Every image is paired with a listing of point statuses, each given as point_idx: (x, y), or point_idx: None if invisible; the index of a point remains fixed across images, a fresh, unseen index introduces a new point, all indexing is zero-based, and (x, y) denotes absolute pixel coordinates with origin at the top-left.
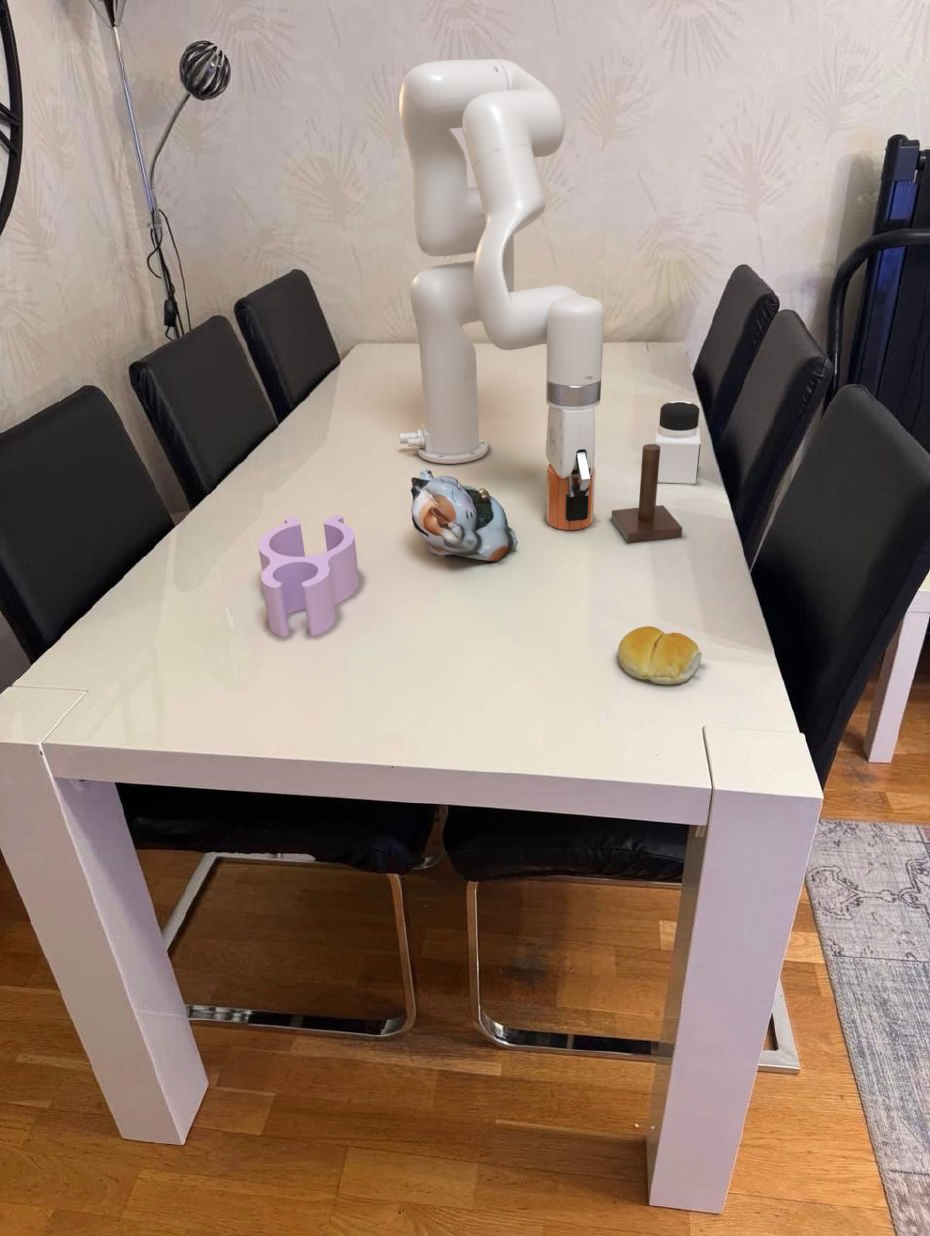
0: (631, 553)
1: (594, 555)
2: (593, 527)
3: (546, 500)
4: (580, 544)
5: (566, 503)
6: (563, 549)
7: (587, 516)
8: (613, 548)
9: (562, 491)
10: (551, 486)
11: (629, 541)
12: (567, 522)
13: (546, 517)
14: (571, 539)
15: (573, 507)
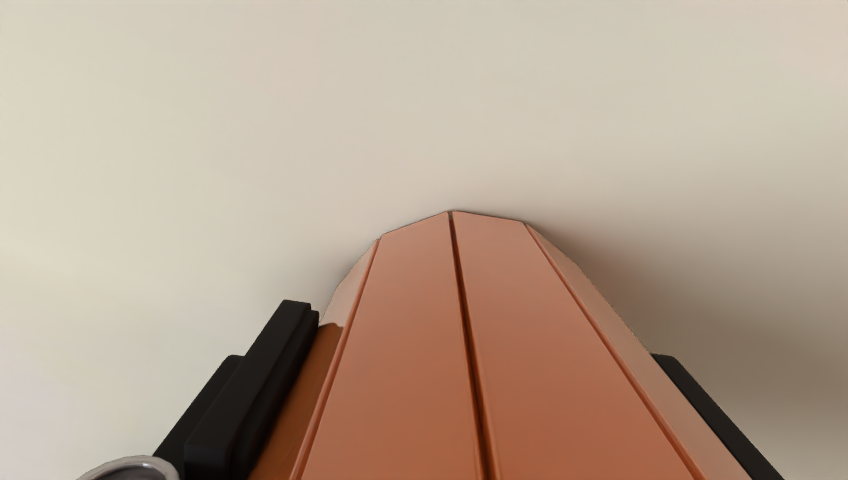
0: (23, 439)
1: (15, 288)
2: None
3: (556, 276)
4: (159, 275)
5: (236, 380)
6: (112, 163)
7: None
8: (85, 395)
9: (286, 450)
10: (437, 395)
11: None
12: (331, 302)
13: (516, 225)
14: (232, 256)
15: (194, 401)
